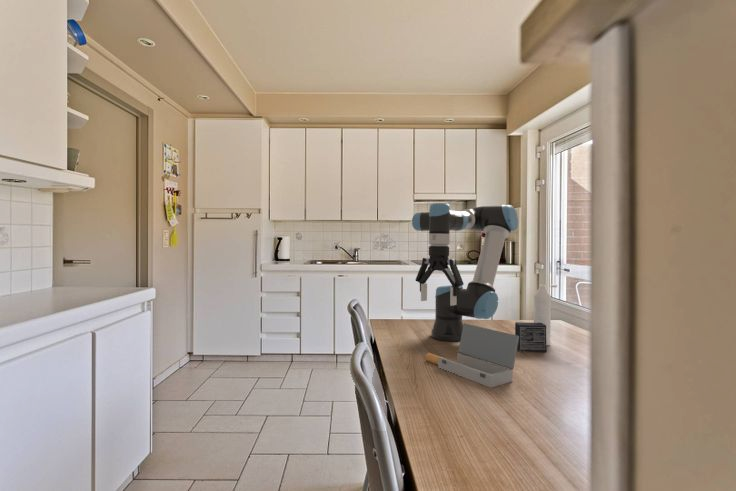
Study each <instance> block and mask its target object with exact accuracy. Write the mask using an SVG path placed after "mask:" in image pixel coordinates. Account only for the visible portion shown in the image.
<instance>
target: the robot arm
mask: <svg viewBox="0 0 736 491" xmlns="http://www.w3.org/2000/svg"><path fill="white" fill-rule="evenodd" d="M514 207H515V206H512V205H511V204H506V205H505V204H502V205H487V206H486V205H485V206H484V205H481V206H477V207H476V206H475V207H472V208H471V207H470V208H466V209H465V208H464V209H461V210H460V211H459V210H451V206H450V204H448V203H446V202H445V203H442V202H440V203H438V202H436V203H432V204H430V205H429V211H428V212H416V213H414V215H412V217H411V218H412V219H411V225H412V228H413V230H415V231H421V232H426V231H427V232H428V245H429V246H428V255H429V258H428V257H423V258H422V260H421V265H420V268H419V270H418V272H417V274H416V278H415V281H416V282H417V283H419V292H420V302H426V301H428V283H427V281H428V279H429V278H430V277H431V276H432V274H433V273H434V272H435V271H437V272H442V273H444V275H445V276H446V278H447V280H448V282H449V283H450V284H449V285H442V286H437V288H436V289H435V318H434V319H435V320H434V323H433V327H432V329H431V332H430V333H431V338H432V339H435V340H439V341H442V342H443V341H444V342H460V340H461V335H462V330H463V325H464V323H463V317H469V318H475V319H479V320H481V319H483V320H488V319H490V318H492V317H494V315H495V313H496V312H497V310H498V307H499V302H498V301H499V297H498V293H496V288H494V283H495V279H496V275H497V271H498V268H499V264H500V259H501V256H502V252H503V248H504V244H505V240H506V239H509V237H510V235H511V232H514V231H516V230H517V229H518V227H519V226H518V224H519V219H518V218H519V217H518V215H517V214H518V213H517V210H516V208H514ZM463 230H464V231H466V230H468V231H469V230H471V231H481V232H483V233H484V234H485V235H484V238H483V243H482V246H481V249H480V254H479V257H478V260H477V264H476V268H475V271H474V274H473V278H472V280H471V281H469V282H468V283H467V287H466V288H463V286H464V281H463V279H462V276H461V273H460V270H459V268H458V266H457V259H455V258H452V259H449V256H450V247H449V245H450V243H451V242H450V236H451V235H450V231H455V232H459V231H463Z"/></svg>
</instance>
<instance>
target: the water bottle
mask: <svg viewBox="0 0 736 491" xmlns="http://www.w3.org/2000/svg"><path fill="white" fill-rule="evenodd" d="M550 288H558V284H550ZM533 300H534V301H533V302H534V306H533V310H534V311H533V312H534V313H533V318H534V319H533V323H543V324H544V325H546V347H547V346H551V342H552V340H551V332H552V331H551V330H552V328H551V324H552V322H551V320H552V319H551V318H552V316H551V314H552V296H551V293H550V292H549V291H548V289H547V285H546V284H542V283H541V284H539V288H538V289H537V291H536V292H535V294H534V295H533Z"/></svg>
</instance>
